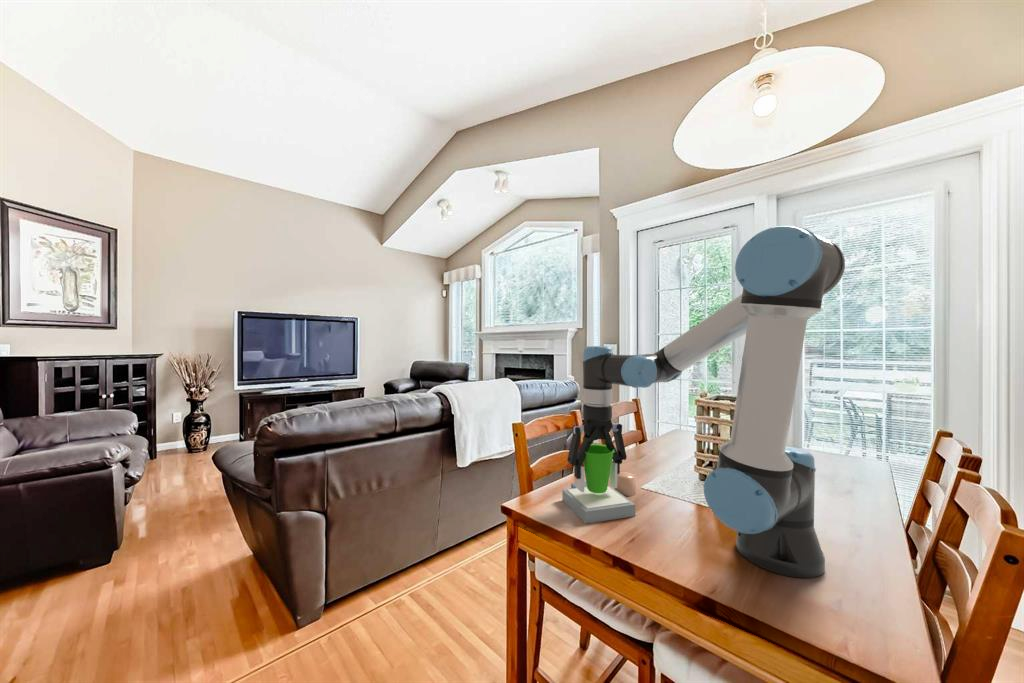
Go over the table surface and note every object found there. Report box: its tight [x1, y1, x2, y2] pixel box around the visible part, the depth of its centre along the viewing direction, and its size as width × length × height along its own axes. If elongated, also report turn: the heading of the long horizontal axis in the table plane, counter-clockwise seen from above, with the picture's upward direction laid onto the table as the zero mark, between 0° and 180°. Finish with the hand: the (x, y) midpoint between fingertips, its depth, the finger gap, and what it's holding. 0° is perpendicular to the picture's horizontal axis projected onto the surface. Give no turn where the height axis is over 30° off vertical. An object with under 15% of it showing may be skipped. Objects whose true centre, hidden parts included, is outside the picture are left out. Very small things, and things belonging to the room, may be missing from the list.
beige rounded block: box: [614, 471, 637, 497], centre depth 113 cm, size 6×6×5 cm
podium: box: [561, 484, 636, 524], centre depth 103 cm, size 14×14×3 cm
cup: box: [582, 443, 615, 493], centre depth 103 cm, size 9×9×11 cm
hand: (597, 488), depth 103 cm, fingers closed on cup, 9 cm apart
